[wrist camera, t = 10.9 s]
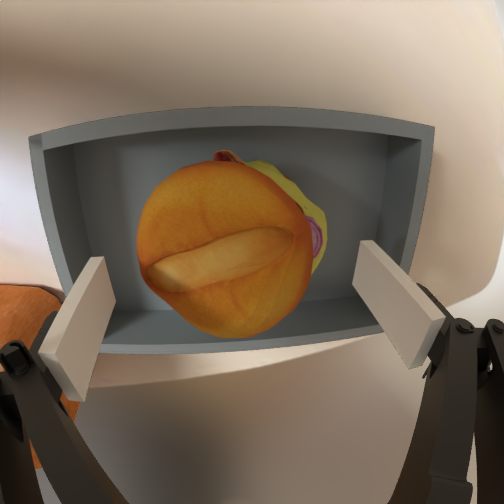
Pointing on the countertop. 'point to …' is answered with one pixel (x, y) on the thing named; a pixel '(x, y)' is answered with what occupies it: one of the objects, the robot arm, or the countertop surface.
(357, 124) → the box
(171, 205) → the cheeseburger
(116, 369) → the countertop surface
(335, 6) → the countertop surface
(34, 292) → the bread
